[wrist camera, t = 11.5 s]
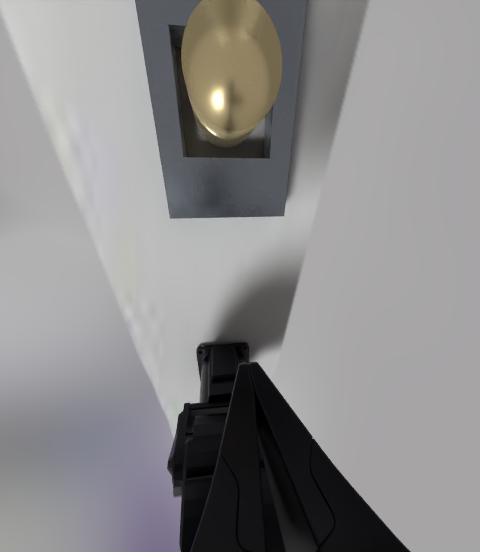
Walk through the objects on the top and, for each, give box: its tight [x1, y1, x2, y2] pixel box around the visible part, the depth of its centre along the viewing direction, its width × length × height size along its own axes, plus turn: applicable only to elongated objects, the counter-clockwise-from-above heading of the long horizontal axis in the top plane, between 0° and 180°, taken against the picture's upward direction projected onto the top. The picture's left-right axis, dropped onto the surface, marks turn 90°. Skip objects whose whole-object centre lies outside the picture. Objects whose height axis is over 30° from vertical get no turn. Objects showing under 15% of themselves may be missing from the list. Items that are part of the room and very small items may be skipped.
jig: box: [135, 0, 307, 218], centre depth 13 cm, size 14×9×2 cm, turn 0°
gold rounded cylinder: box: [181, 0, 282, 148], centre depth 11 cm, size 4×4×6 cm
